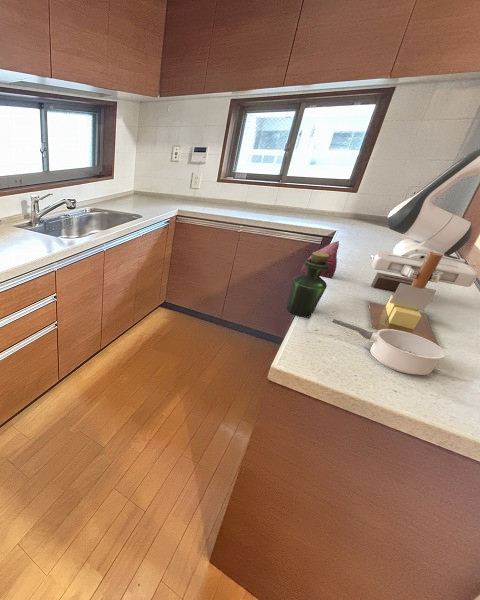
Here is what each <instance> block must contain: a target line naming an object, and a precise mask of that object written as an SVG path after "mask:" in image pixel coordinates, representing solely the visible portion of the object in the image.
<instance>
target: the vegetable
mask: <svg viewBox="0 0 480 600" xmlns="http://www.w3.org/2000/svg"><path fill="white" fill-rule="evenodd" d="M339 242H340V241H339V240H337V241H333V242H331V243H329V244H328V245H326V246H324V247H322V248H320V249H318V250H316V251H315V252H321V253H325V254H328V255H329V257H328V258H327V260H326V261H325V262H327V263H328V264H329V269H327V270H323V271H322V272H321V274H320V275H319V277H320V278H326V279H330V280H331V279H333V277H334V275H335V273H336V269H337V263H338V257H337V255H338V250H339V246H340V243H339ZM307 259H312V254H311V255H310V256H309V257H308V258H307ZM300 273H301V274H302V275H303V274H307V266H305V265H304V264H303V265H302V267H301V270H300Z"/></svg>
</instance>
